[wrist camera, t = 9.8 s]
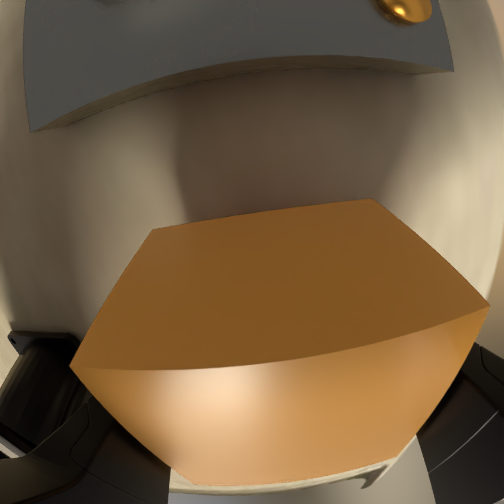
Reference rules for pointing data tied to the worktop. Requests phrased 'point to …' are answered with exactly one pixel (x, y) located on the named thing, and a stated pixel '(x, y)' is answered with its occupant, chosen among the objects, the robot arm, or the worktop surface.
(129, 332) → the orange squarish block
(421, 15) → the panel
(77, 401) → the robot arm
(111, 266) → the worktop surface
